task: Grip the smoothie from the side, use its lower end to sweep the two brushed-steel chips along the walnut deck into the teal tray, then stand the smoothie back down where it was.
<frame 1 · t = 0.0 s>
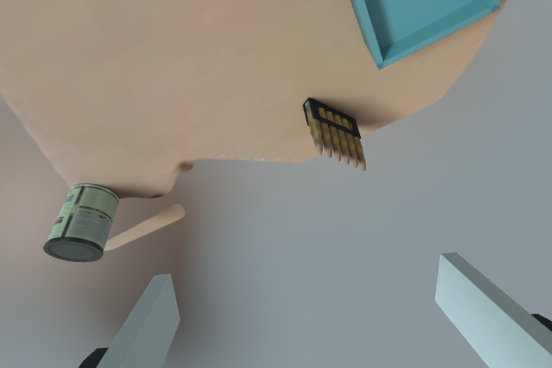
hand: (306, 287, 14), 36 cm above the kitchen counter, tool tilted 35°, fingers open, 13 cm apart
coffee can: (95, 195, 67), on the kitchen counter
ammunition clip: (329, 111, 51), on the kitchen counter
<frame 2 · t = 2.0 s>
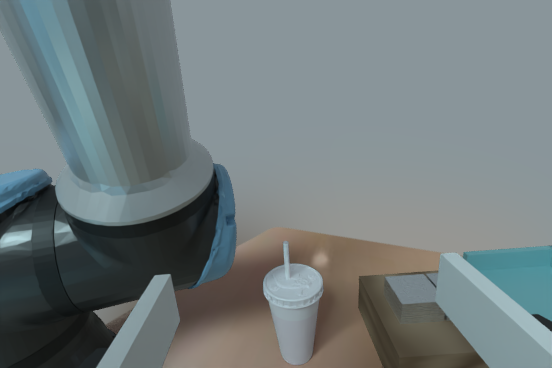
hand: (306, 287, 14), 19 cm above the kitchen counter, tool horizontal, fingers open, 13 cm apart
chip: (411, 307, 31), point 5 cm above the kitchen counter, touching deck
tray: (545, 332, 33), on the kitchen counter
deck: (434, 340, 33), on the kitchen counter
smoothie: (296, 351, 33), on the kitchen counter
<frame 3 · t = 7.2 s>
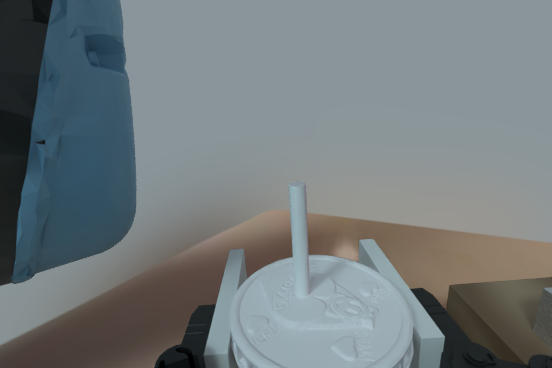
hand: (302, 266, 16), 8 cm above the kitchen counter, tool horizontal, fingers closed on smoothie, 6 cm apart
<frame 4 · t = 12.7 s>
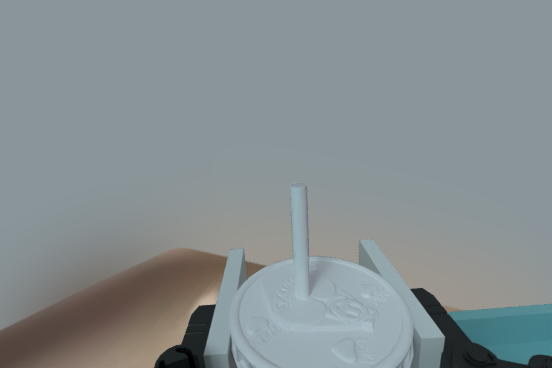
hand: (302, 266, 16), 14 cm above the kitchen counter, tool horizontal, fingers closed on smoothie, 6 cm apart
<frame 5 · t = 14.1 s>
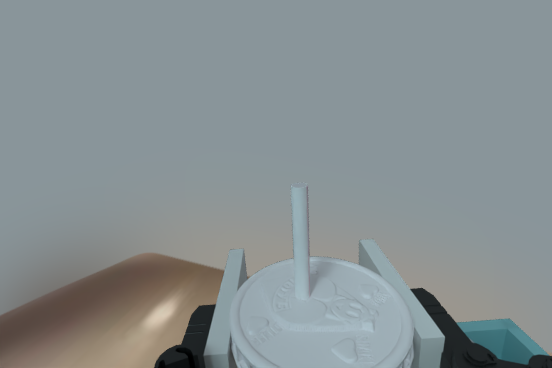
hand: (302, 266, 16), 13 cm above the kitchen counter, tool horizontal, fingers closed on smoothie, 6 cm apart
when the fingers open (9 cm above the kitchen counter, at t = 19.1 s): smoothie drops 1 cm, on the kitchen counter.
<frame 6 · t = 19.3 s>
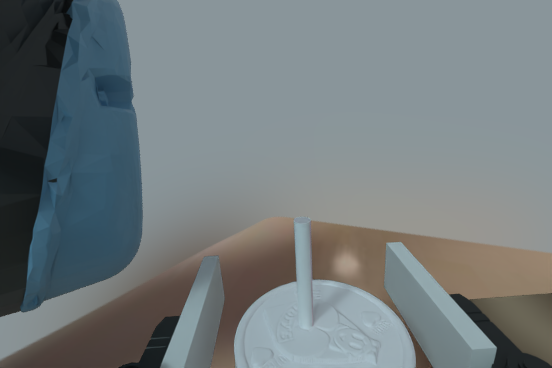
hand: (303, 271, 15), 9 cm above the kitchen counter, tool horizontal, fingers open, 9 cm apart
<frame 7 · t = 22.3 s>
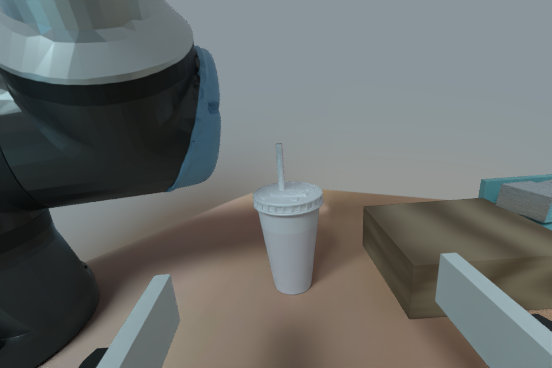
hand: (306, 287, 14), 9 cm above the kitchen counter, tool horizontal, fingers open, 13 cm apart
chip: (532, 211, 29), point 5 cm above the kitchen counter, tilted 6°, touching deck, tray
deck: (450, 269, 29), on the kitchen counter
smoothie: (293, 284, 29), on the kitchen counter
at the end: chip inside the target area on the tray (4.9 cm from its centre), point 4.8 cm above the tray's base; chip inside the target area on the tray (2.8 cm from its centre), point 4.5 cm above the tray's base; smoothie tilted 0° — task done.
